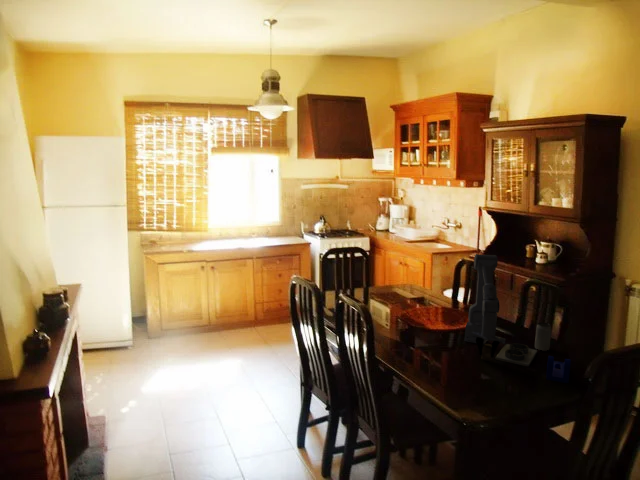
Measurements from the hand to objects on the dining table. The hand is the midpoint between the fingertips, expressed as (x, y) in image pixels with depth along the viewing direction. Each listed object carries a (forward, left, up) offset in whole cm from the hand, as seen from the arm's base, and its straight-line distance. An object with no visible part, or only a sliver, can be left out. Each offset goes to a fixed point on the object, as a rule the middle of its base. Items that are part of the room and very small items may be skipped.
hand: (486, 355), depth 235 cm
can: (+18, +30, -3) cm, 35 cm away
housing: (+10, +14, -2) cm, 17 cm away
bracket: (+29, +4, -3) cm, 29 cm away
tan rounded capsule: (0, 0, -1) cm, 1 cm away
